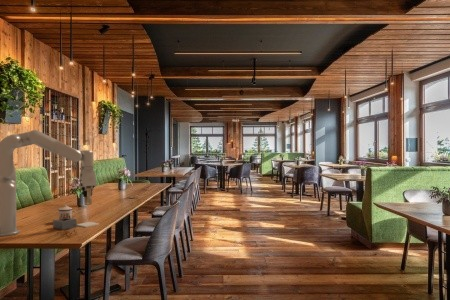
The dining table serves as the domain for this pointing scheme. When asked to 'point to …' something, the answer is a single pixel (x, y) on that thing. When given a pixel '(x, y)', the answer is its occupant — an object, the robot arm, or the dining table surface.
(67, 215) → the teacup with lid
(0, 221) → the robot arm
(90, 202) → the peg
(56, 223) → the eye block
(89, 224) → the tile
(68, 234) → the dining table surface
